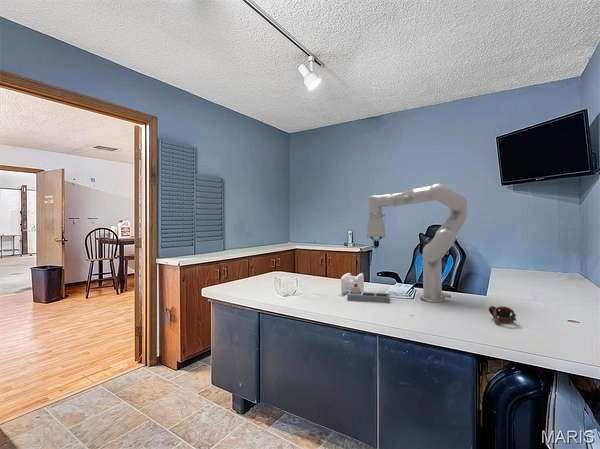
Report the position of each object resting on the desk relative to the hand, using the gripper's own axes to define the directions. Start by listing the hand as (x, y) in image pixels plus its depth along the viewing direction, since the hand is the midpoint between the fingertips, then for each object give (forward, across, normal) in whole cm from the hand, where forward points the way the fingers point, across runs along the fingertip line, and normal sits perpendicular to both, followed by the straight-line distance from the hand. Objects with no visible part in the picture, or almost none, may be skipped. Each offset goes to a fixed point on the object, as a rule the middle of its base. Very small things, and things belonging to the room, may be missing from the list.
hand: (376, 247), depth 184 cm
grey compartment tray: (+29, +4, +14) cm, 32 cm away
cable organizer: (+29, +15, -4) cm, 33 cm away
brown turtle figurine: (+30, -54, +34) cm, 71 cm away
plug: (+27, +11, +14) cm, 33 cm away
